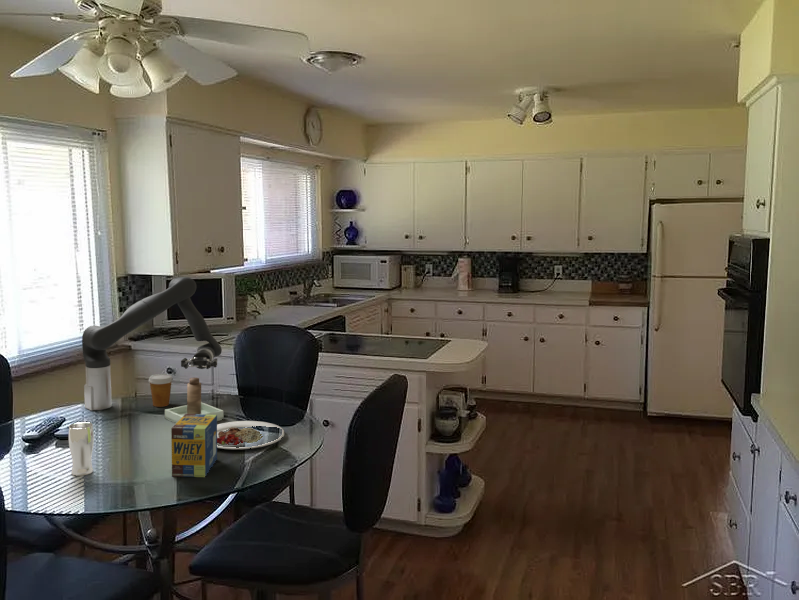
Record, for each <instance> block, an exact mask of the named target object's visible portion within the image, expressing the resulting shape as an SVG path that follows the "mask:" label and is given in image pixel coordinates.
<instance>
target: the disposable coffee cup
mask: <svg viewBox="0 0 799 600" xmlns="http://www.w3.org/2000/svg"><path fill="white" fill-rule="evenodd" d="M173 380H174V378H173V377H172V375H171V374H168V373H157V374H152V375H150V376H149V378H148V383H149V386H150V394H151V399H152V400H151V401H152V406H153V407H156V408H163V407H168V406H169V405H170V402H171V401H170V398H171V389H172V382H173Z"/></svg>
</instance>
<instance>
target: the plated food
mask: <svg viewBox="0 0 799 600" xmlns="http://www.w3.org/2000/svg"><path fill="white" fill-rule="evenodd" d="M252 426H253V427H254V426H255V427H256V426H266V427H277V428H280V429H282V435H281V436H280V437H279V438H278V439H276V440H274V441H271V442H268V443H265V444H262V445H258V446H252V447H239V448H236V447H223V446H218V445H217V449H224V450H249V449H250V448H251V449H256V448H262V447H266V446H269V445H272V444H276V443H277V442H279V441H281V440H282V439H283V438H284V436H285V430H284V428H282V427H281V426H279V425H277V424H275V423H270V422H266V421H259V420H258V421H257V420H235V421H229V422H228V421H227V422H222V423H219V424H218V423H217V443H219V444H221V445H227V444H228V445H237V444H239V443H240V442H241V443H243V442H247V443H253V442H257V441H258V440H260V439H261V438H262V437H263V436H261V435H262V434H260V432H259V431H257V430H255V429H253V428H243V429H239V428H237V427H252ZM228 429H229V431H227V432H224V431H226V430H228ZM260 436H261V437H260ZM282 437H283V438H282ZM281 438H282V439H281Z"/></svg>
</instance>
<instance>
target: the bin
mask: <svg viewBox="0 0 799 600" xmlns="http://www.w3.org/2000/svg"><path fill="white" fill-rule="evenodd" d="M185 414H187V404H185V405H180V406H176V407H173V408H172V407H171V408H166V409H164V419H165V420H168V421H170V422H172V423H173V424H176V423H177V422H178V421H179V420H180V419H181V418H182V417H183V416H184V415H185ZM201 414H206V415H217V422H218V421H223V420H224V410H223V409H221V408H218V407H215V406H212V405H210V404H207V403H205V402H202V401H201ZM222 419H223V420H222Z"/></svg>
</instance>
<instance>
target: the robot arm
mask: <svg viewBox="0 0 799 600" xmlns="http://www.w3.org/2000/svg"><path fill="white" fill-rule="evenodd" d="M196 290H197V283H196V281H195V280H194V279H193V278H191V277H186V276H184V277H183V276H182V277H175V278H172V280H171V281H170V282H169V283H168V288H167V289H164V290H162V291H160V292H157V293H155V294H152V295H149V296H147V297H144V298H143V299H142V298H141V299H140V300H138V301H137V302H134V303H133V304H132V305H130V306H129V307H127V308H126V310H125V311H124V312H123V314H122V315H120V317H119V318H118V319H116V320H115V321H113V322H111V323H109V324H107V325H105V326H100V325H90V326H88V327H87V328H85V329H84V331H83V332H82V337H81V345H82V356H83V357H82V358H83V360H84V364H85V384H84V385H83V389H84V390H83V391H84V392H83V393H84V395H83V396H84V408H85V409H86V410H89V411H99V410H106V409H109V408H111V407H112V405H113V404H112V402H113V401H112V377H111V374H112V373H111V372H112V371H111V358H110V357H109V355H108V353H107V349H109V348H111V346H113V345H115V343H117V342H118V341H120V339H122V338H123V337H126V336H127V335H129V333H132V332H133V331H135V330H136V329H138V328H140V327H141V326H143V325H145V324H147V323H148V322H150V321H151V320H154V318H157V316H159V315H161V314H163V312H165V311H167V310H168V309H169V308H171V307H172V306H174V305H176V304H177V306H178V307H179V309H180V311H181V313H183V315H184V318H185V319H186V322H187V323H188V324H187V325H188V326H189V327H190V330H191V333H192V334H193V337H194V339H195V341H197V342H208V343H204V344H202V345H200V346H197V350H196V351H197V352H195V354H193V356H192V358H189V359H188V358H187V357H185V358H183V359H181V360H180V367H181V368H184V370H186V369H188V368H196V369H198V370H199V369H200V370H204V369H206V370H209V369H211V368H212V367H213V368H217V366H218V358H216V357H219V356H221V354H222V353H223V351H222V350H223V349H222V347H221V344H220V342H218V341H217V340H216V339H215V337H214V336H213V335H212V333H211V331H210V329H209V327H208V325H207V321H206V320H205V318H204V317H203V315H202V314H201V313H200V311H198V309H197V308H196V306H195V305H194V303H193V301H192V299H191V297H192V296H193V295H195V292H196Z"/></svg>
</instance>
